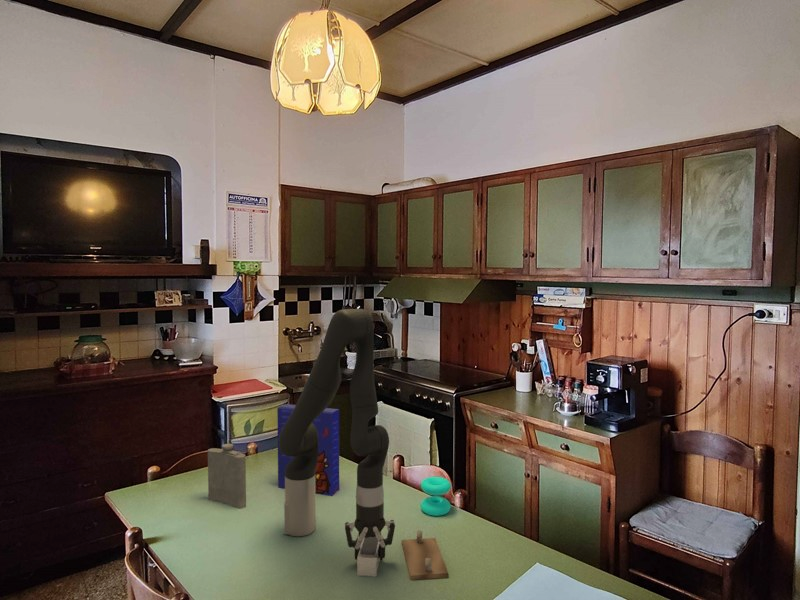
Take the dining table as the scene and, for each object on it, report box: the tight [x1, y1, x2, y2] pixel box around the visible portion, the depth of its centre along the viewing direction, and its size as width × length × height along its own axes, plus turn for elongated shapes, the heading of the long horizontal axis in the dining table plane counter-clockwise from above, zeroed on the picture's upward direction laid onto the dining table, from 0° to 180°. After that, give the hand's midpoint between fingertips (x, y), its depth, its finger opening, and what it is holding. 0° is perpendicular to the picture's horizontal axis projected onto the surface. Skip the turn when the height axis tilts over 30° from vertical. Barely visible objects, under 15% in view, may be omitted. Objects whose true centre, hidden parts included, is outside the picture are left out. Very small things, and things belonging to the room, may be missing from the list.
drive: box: [356, 537, 380, 577], centre depth 144 cm, size 5×12×5 cm, turn 176°
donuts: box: [420, 476, 452, 517], centre depth 176 cm, size 10×10×10 cm
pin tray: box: [401, 530, 449, 581], centre depth 146 cm, size 10×18×4 cm, turn 7°
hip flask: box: [207, 443, 247, 509], centre depth 181 cm, size 16×4×20 cm, turn 64°
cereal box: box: [276, 403, 340, 497], centre depth 192 cm, size 22×6×30 cm, turn 72°
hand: (369, 559), depth 144 cm, fingers closed on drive, 5 cm apart
